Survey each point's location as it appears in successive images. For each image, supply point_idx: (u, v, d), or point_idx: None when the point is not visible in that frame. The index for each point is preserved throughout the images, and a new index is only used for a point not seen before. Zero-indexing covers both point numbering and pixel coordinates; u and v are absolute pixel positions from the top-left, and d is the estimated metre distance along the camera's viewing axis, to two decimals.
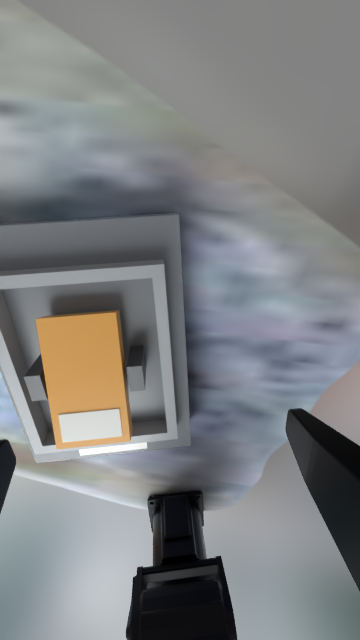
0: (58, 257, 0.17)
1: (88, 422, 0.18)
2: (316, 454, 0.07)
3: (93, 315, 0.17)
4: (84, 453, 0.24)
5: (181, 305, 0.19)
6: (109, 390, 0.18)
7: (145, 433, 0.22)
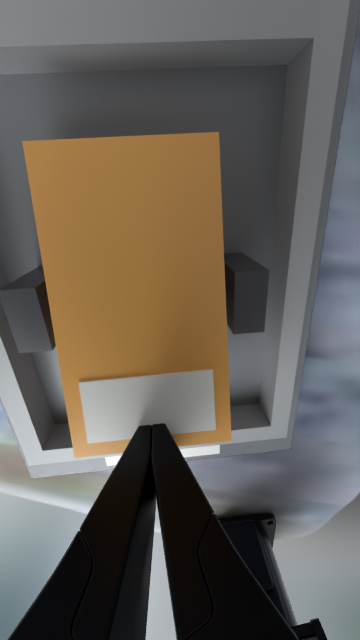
0: None
1: (146, 400, 0.08)
2: (152, 473, 0.07)
3: (164, 138, 0.07)
4: (114, 461, 0.14)
5: (330, 161, 0.09)
6: (193, 328, 0.08)
7: None
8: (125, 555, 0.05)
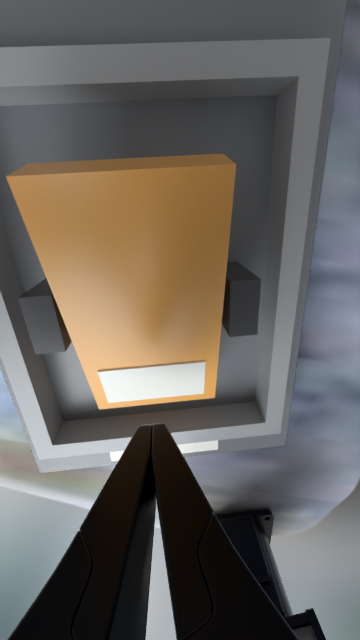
0: None
1: (151, 380, 0.11)
2: (152, 473, 0.07)
3: (173, 171, 0.06)
4: (118, 457, 0.15)
5: (318, 179, 0.10)
6: (192, 336, 0.09)
7: (227, 424, 0.13)
8: (125, 555, 0.05)
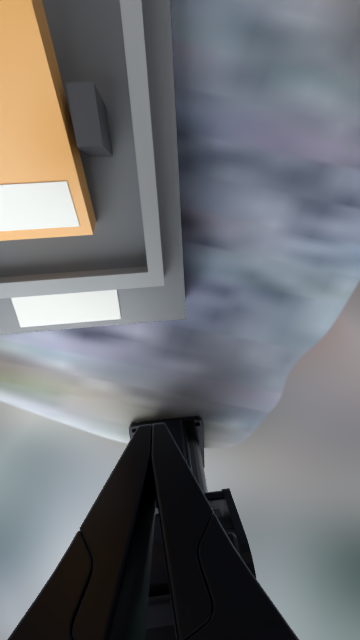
0: None
1: (24, 202, 0.12)
2: (152, 473, 0.07)
3: None
4: (26, 322, 0.16)
5: (166, 18, 0.11)
6: (43, 145, 0.11)
7: (113, 274, 0.14)
8: (125, 555, 0.05)
